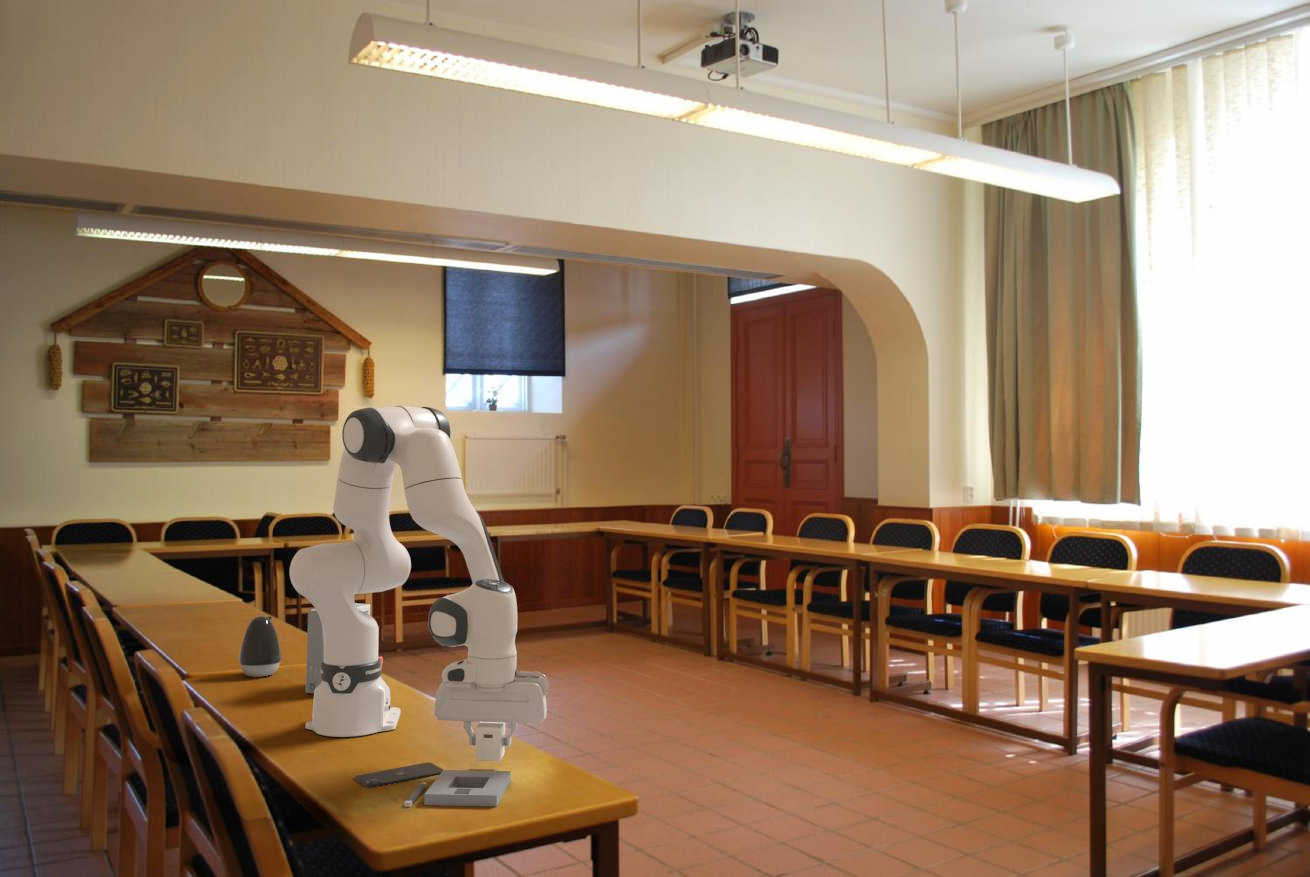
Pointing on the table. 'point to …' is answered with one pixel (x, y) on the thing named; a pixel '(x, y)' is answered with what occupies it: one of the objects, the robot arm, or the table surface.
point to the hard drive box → (318, 648)
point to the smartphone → (398, 775)
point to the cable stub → (415, 795)
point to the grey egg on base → (260, 648)
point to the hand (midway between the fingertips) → (490, 745)
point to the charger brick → (489, 741)
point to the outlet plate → (468, 788)
